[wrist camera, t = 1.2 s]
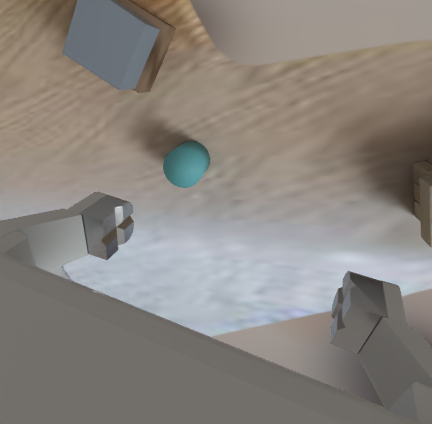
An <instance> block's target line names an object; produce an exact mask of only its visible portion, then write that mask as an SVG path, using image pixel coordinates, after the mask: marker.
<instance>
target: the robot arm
mask: <svg viewBox="0 0 432 424" xmlns="http://www.w3.org/2000/svg"><path fill="white" fill-rule="evenodd" d="M132 213H133V205H132V204H131V203H130V202H128V201H125V200H122V199H119V198H116V197H113V196H110V195H107V194H104V193H100V192H94V193H93V194H91V195H89V196H88V197H86V198H85V199H83V200H81V201H80V202H78V203H77V204H75V205H73V206H72V207H70V208H69V209H67V210H66V209H59V210H54V211H49V212H44V213H39V214H33V215H28V216H23V217H18V218H13V219H8V220H3V221H0V424H432V348H431V347H430V345H429V344H428V343H427V342H426V341H425V340H424V339H423V338H422V337H421V335H420V334H419V333H418V332H417V331H416V330H415V329H414V327H411V326H408V323H407V318H406V314H405V309H404V305H403V300H402V296H401V291H400V287H399V286H398V285H395V284H392V283H388V282H385V281H379V280H376V279H373V278H370V277H366V276H363V275H360V274H357V273H353V272H350V271H347V273H346V274H345V276H344V278H343V287H341V288H339V289H338V291H337V293H336V295H335V298H334V301H333V305H332V315H331V316H332V317H333V319H334V321H333V323H332V325H331V336H330V339H331V340H330V344H333V345H336V346H338V347H340V348H343V349H345V350H348V351H350V352H353V353H355V354H358V358H359V359H360V361H361V363H362V365H363V367H364V369H365V371H366V373H367V375H368V376H369V378H370V380H371V382H372V384H373V386H374V388H375V390H376V392H377V393H378V395H379V397H380V399H381V401H382V403H383V405H384V407H385V408H384V407H381V406H379V405H377V404H374V403H372V402H369V401H367V400H364V399H362V398H359V397H357V396H354V395H352V394H349V393H347V392H345V391H342V390H340V389H337V388H335V387H332V386H329V385H327V384H325V383H322V382H320V381H317V380H315V379H312V378H310V377H308V376H305V375H303V374H300V373H297V372H295V371H293V370H290V369H288V368H285V367H283V366H280V365H278V364H276V363H273V362H270V361H268V360H265V359H263V358H261V357H258V356H256V355H253V354H251V353H248V352H246V351H243V350H241V349H239V348H236V347H234V346H231V345H229V344H226V343H224V342H221V341H219V340H216V339H214V338H211V337H209V336H207V335H204V334H202V333H199V332H197V331H194V330H192V329H189V328H187V327H184V326H182V325H179V324H177V323H175V322H172V321H170V320H167V319H165V318H162V317H160V316H157V315H155V314H152V313H150V312H147V311H145V310H142V309H140V308H138V307H135V306H133V305H130V304H128V303H125V302H123V301H120V300H118V299H115V298H113V297H110V296H108V295H105V294H103V293H100V292H98V291H96V290H93V289H91V288H88V287H86V286H83V285H81V284H78V283H76V282H73V281H71V280H70V279H69V278H68V277H67V275H66V274H65V273H64V271H63V269H62V265H64V264H67V263H69V262H72V261H74V260H77V259H79V258H81V257H84V256H86V255H88V254H90V255H93V256H96V257H99V258H102V259H105V260H108V259H109V258H110V257H111V256H112V255H113V254H114V253H115V252H116V251H117V250H118V245H121V244H124V243H126V242H127V241H128V240H129V239H130V237H131V235H132V233H133V228H134V221H133V220H132V218H131V216H130V215H131V214H132Z"/></svg>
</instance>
